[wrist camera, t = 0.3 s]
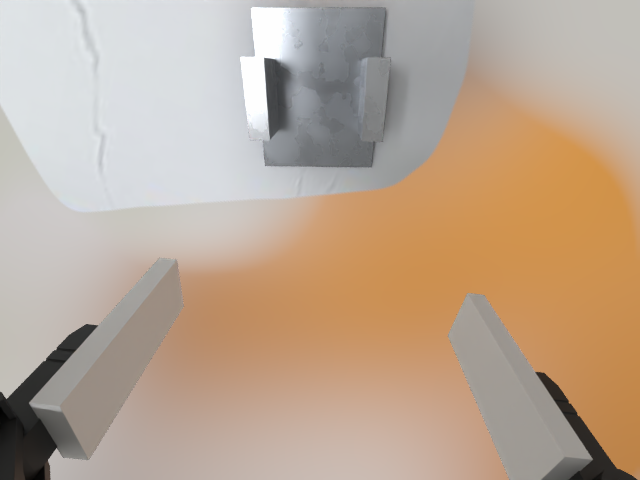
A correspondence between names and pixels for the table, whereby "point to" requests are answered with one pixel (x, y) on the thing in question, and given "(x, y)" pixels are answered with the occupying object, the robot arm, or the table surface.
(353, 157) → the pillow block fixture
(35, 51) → the table surface
